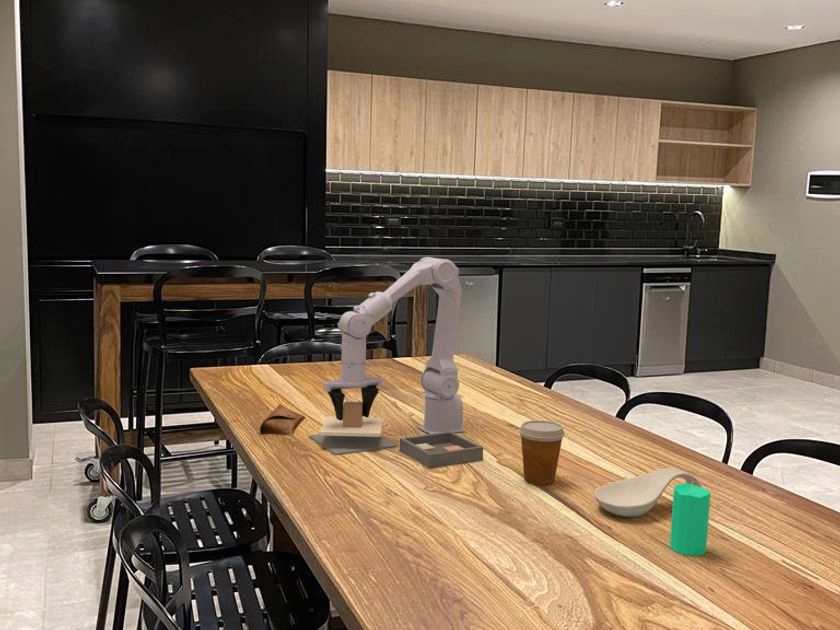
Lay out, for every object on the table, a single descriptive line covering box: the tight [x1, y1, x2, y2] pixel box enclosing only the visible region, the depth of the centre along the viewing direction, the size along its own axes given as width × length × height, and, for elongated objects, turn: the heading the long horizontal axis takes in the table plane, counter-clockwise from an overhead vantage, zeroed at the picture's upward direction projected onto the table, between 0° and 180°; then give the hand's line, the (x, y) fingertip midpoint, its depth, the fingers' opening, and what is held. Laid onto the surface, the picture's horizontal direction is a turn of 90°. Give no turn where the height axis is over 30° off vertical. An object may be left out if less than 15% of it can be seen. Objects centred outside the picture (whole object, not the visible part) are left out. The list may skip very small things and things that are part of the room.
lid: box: [319, 401, 384, 437], centre depth 199 cm, size 14×14×6 cm
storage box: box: [399, 432, 484, 469], centre depth 191 cm, size 14×14×3 cm
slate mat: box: [308, 433, 398, 456], centre depth 200 cm, size 16×16×1 cm
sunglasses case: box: [259, 404, 306, 436], centre depth 213 cm, size 18×7×7 cm
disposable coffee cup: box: [518, 420, 566, 487], centre depth 175 cm, size 10×10×12 cm
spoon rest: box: [593, 467, 703, 518], centre depth 162 cm, size 24×12×7 cm, turn 115°
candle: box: [669, 481, 712, 557], centre depth 142 cm, size 6×6×12 cm
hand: (352, 417), depth 199 cm, fingers closed on lid, 6 cm apart
